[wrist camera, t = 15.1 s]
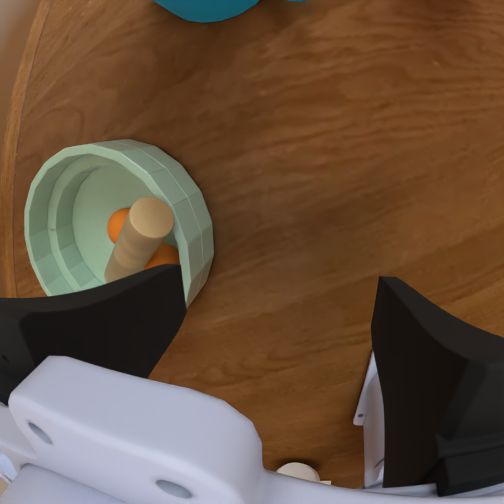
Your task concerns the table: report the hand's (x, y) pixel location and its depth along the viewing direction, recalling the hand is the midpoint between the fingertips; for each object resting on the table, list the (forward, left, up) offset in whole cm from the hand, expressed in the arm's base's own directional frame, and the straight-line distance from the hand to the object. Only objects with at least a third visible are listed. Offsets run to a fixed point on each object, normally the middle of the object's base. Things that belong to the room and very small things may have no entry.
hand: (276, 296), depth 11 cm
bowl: (-1, +13, -10) cm, 16 cm away
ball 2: (-3, +9, -8) cm, 12 cm away
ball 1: (0, +12, -8) cm, 14 cm away
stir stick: (-4, +13, -8) cm, 15 cm away
